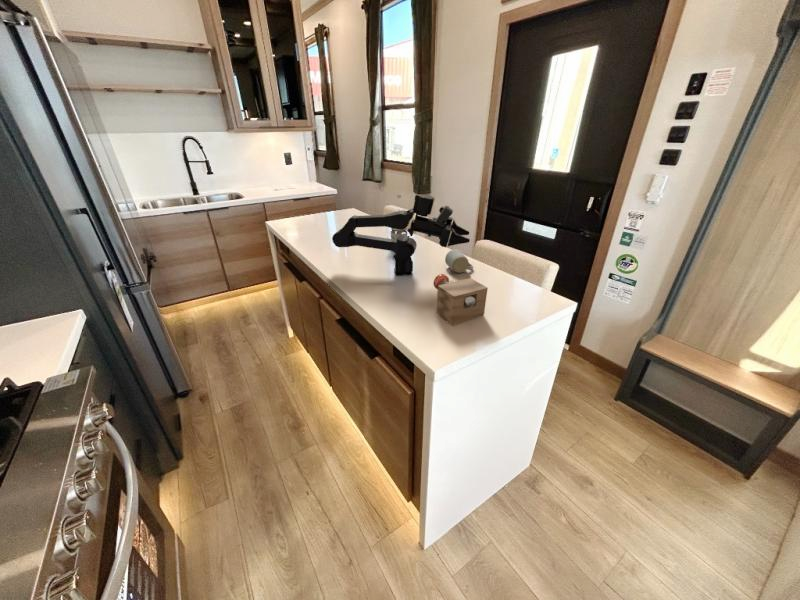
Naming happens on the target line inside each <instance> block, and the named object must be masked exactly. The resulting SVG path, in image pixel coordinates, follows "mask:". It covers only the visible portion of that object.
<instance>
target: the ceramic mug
mask: <svg viewBox="0 0 800 600" xmlns="http://www.w3.org/2000/svg"><path fill="white" fill-rule="evenodd" d="M444 261H445V264H446V266H448V267H449V269H451V271H453V272H454V273H456V274H462V273H464V272H466V271H467V270H468V271H472V270H473V269H474V265H473V264H472V263H470V262H469V260H468V258H467V256H466V255H465V254H464V253H463V252H462V251H461V250H460V249H456V248H455V249H452V250H449V251H448V252H447V253H446V255H445V259H444Z"/></svg>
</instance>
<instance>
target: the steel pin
mask: <svg viewBox="0 0 800 600" xmlns="http://www.w3.org/2000/svg"><path fill="white" fill-rule="evenodd" d="M433 279H434V280H433V287H434V288H435V289H436V290H438V285H442V284H447V283H451V282H450V280H449V279H450V278H449V276H447V275H446V274H443V273H440V274H438V275H437V276H436V277H435V278H433ZM464 303H465V304H466V305H468V306H469V307H471V306H473V305H474V304H475V298H473V297H472V296H466V297H464Z"/></svg>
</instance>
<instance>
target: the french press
mask: <svg viewBox="0 0 800 600" xmlns="http://www.w3.org/2000/svg"><path fill="white" fill-rule="evenodd" d="M396 198H402V195H401V194H398V193H397V195H396ZM407 230H408V228H407V227H406V228H405V229H403V230H400V229H393V228H391V231H390V239H397V238H398V236H399V235H403V236H408V231H407Z"/></svg>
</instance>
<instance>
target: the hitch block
mask: <svg viewBox="0 0 800 600" xmlns="http://www.w3.org/2000/svg"><path fill="white" fill-rule="evenodd" d="M488 290H489V289H488V287H487V286H485V285H484V284H482V283H480V282H478V281H477V280H475V279H474V278H471V277H468V278H463V279H460V280H455V281H452V282H450V283H447V284H442V285H438V289H437V296H436V297H437V298H436V308H435V309H436V312H435V313H436V315H438V316H439V317H440V318H441V319H442V320H444V321H445V322H446V323H448V324H449V325H450V326H454V325H458V324H462V323H465V322H467V321H468V322H469V321H472V320H474V319H479V318H481V317H484V315H485V310H486V309H485V308H486V302H487V297H488V296H487V294H488ZM466 296H472V297H473V298H475V304H474V305H473V306H471V307H469V306H468V305H466V304H465V303H464V297H466Z"/></svg>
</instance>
